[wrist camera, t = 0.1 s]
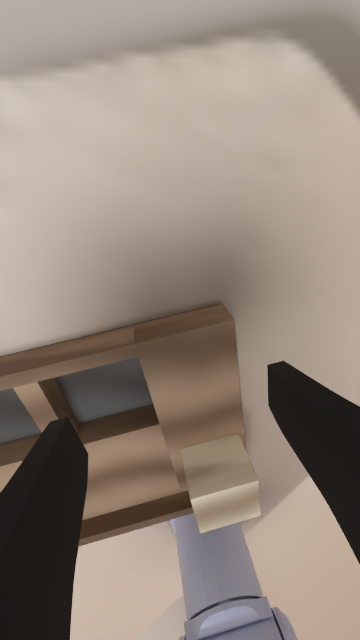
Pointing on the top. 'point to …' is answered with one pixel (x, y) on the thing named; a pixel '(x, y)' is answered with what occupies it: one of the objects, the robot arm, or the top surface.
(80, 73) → the top surface
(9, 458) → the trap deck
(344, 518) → the robot arm
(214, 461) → the birch block
